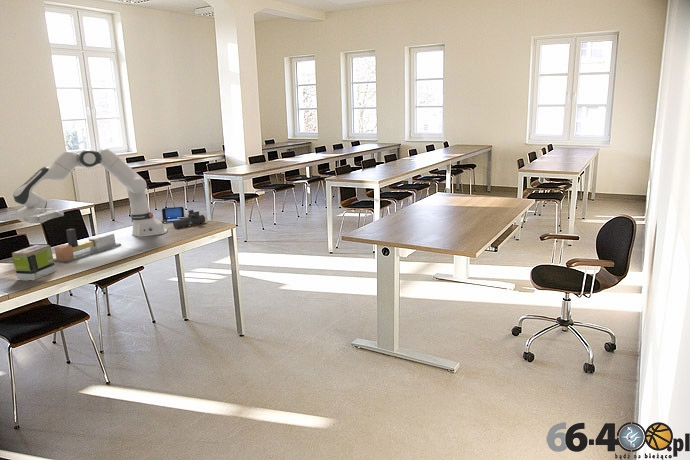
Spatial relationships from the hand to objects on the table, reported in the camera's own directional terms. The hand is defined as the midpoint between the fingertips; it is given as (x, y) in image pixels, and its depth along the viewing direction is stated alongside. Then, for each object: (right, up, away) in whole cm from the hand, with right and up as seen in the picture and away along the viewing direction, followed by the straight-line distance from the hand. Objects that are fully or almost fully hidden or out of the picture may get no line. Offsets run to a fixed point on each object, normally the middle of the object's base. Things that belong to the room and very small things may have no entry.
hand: (54, 216), depth 301 cm
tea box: (+8, -32, -31) cm, 45 cm away
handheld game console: (+40, -1, +87) cm, 96 cm away
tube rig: (+16, -21, +8) cm, 28 cm away
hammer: (+14, -19, +4) cm, 24 cm away
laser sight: (+58, -5, +69) cm, 90 cm away
